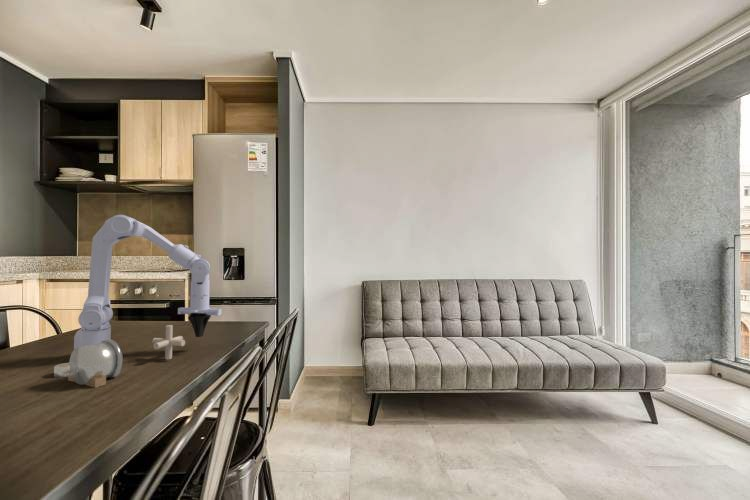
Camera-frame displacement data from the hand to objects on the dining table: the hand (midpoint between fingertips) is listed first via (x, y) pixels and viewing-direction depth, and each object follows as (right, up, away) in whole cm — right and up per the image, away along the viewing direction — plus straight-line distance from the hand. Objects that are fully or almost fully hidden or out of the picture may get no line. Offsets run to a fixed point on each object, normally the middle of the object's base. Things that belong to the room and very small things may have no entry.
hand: (199, 336), depth 121 cm
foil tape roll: (-23, -4, -25) cm, 34 cm away
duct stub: (-12, -4, -29) cm, 32 cm away
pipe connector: (-4, -5, -10) cm, 12 cm away
